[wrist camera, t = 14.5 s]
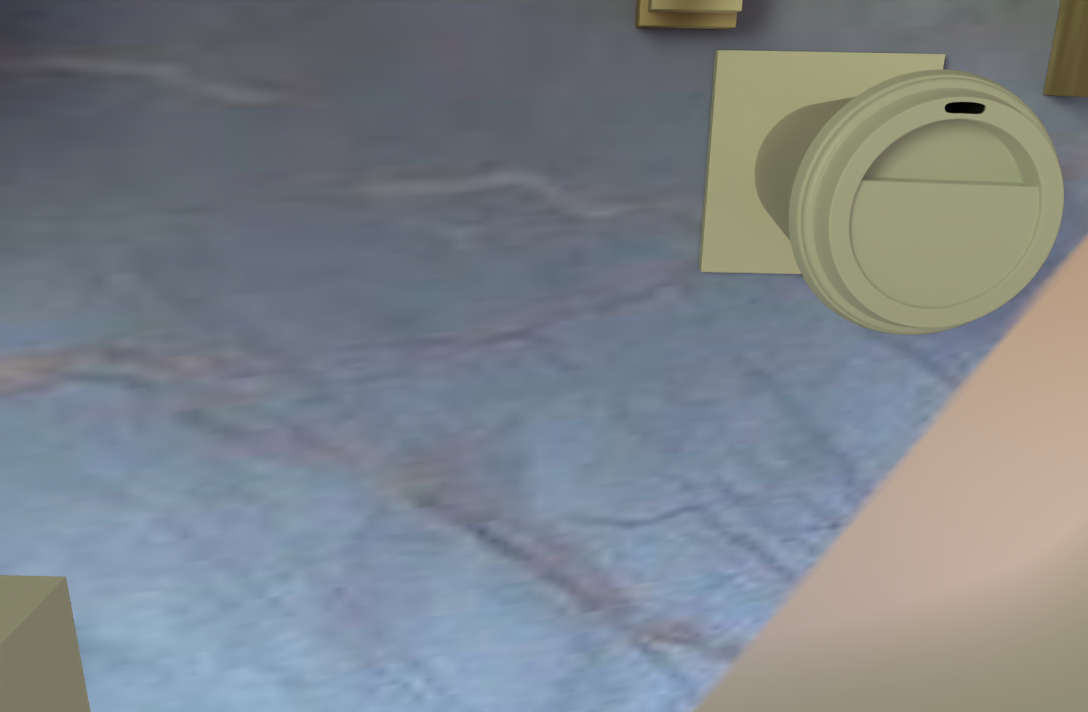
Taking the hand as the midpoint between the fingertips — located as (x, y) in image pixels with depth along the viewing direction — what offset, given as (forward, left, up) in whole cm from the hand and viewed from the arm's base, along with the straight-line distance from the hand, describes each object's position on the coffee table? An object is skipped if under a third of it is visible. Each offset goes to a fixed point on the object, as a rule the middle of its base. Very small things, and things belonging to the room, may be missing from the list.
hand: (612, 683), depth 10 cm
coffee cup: (+13, +2, -36) cm, 38 cm away
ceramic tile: (+13, +3, -37) cm, 39 cm away
